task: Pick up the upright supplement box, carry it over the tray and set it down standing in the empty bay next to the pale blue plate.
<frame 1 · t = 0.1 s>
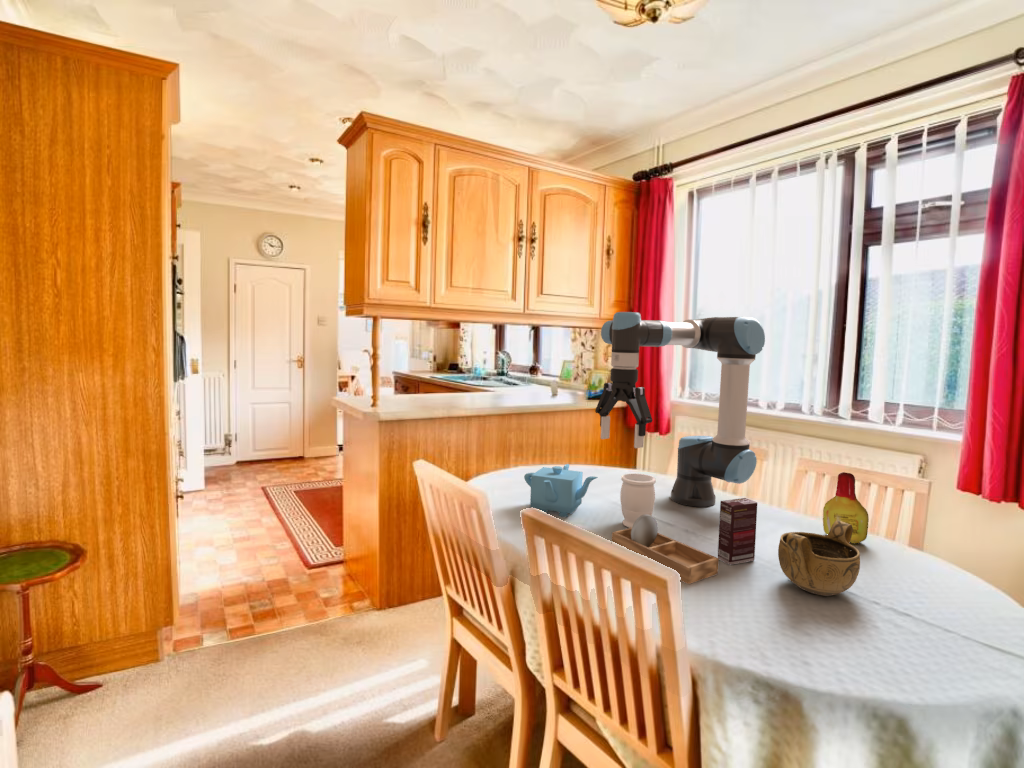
hand: (621, 443, 157), 28 cm above the table, fingers open, 13 cm apart
bottle: (843, 540, 163), on the table
ceramic bowl: (814, 589, 131), on the table
jar: (636, 525, 171), on the table
teakettle: (559, 511, 183), on the table
supplement box: (735, 560, 147), on the table
tray: (661, 559, 146), on the table
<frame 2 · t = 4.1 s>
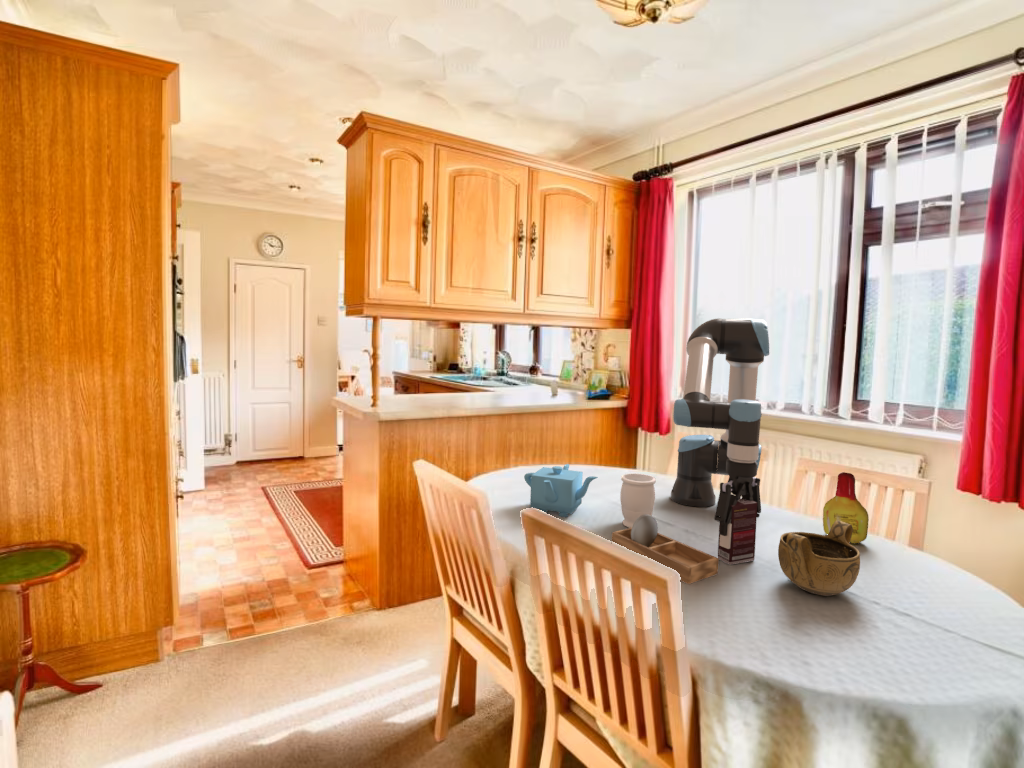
hand: (736, 543, 146), 5 cm above the table, fingers closed on supplement box, 9 cm apart
supplement box: (735, 560, 147), on the table, touching gripper
everything else where it was.
when the fingers open (7 cm above the table, at t = 10.7 s): supplement box drops 2 cm, resting on tray.
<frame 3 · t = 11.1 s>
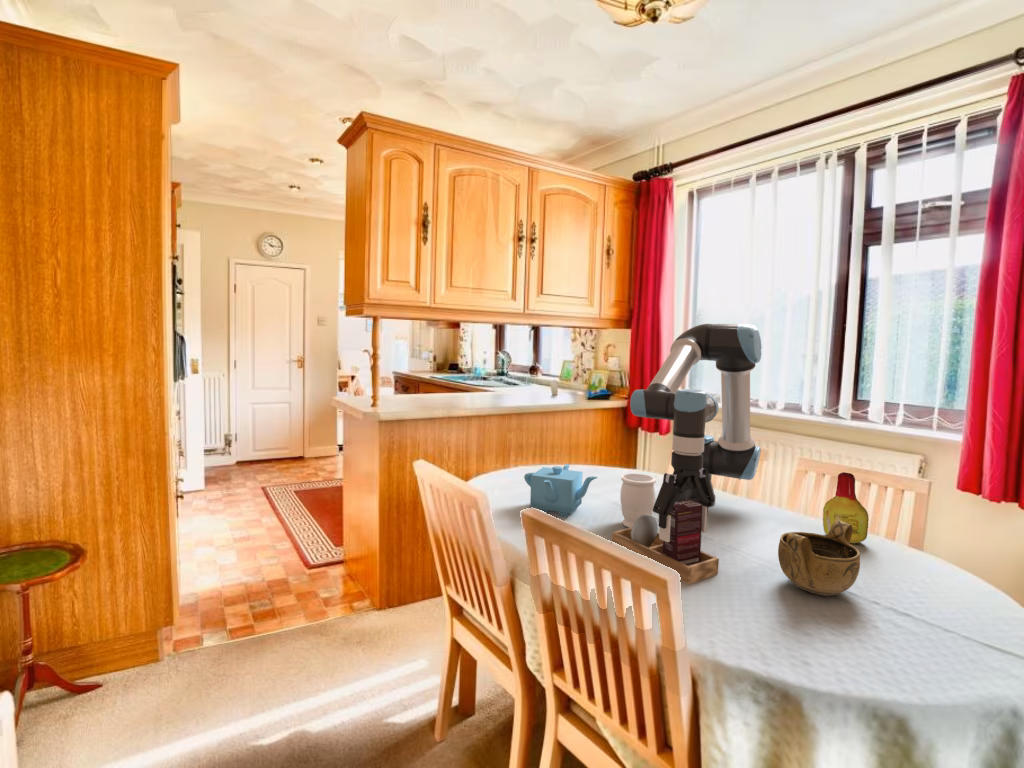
hand: (682, 535, 140), 9 cm above the table, fingers open, 13 cm apart
supplement box: (680, 565, 140), point 1 cm above the table, touching tray
everything else where it was.
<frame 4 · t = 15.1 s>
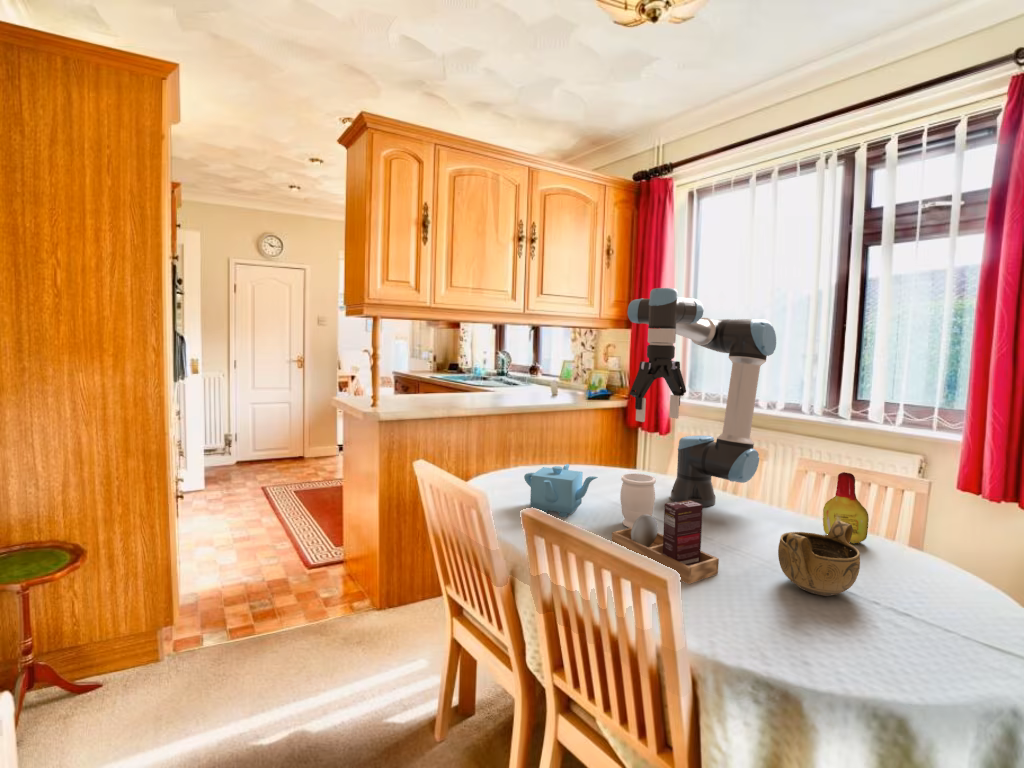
hand: (657, 419, 157), 35 cm above the table, fingers open, 13 cm apart
nothing on the table moved.
at the end: supplement box inside the target area (0.5 cm from its centre), point 0.8 cm above the table; supplement box tilted 0°; the gripper is holding nothing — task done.
